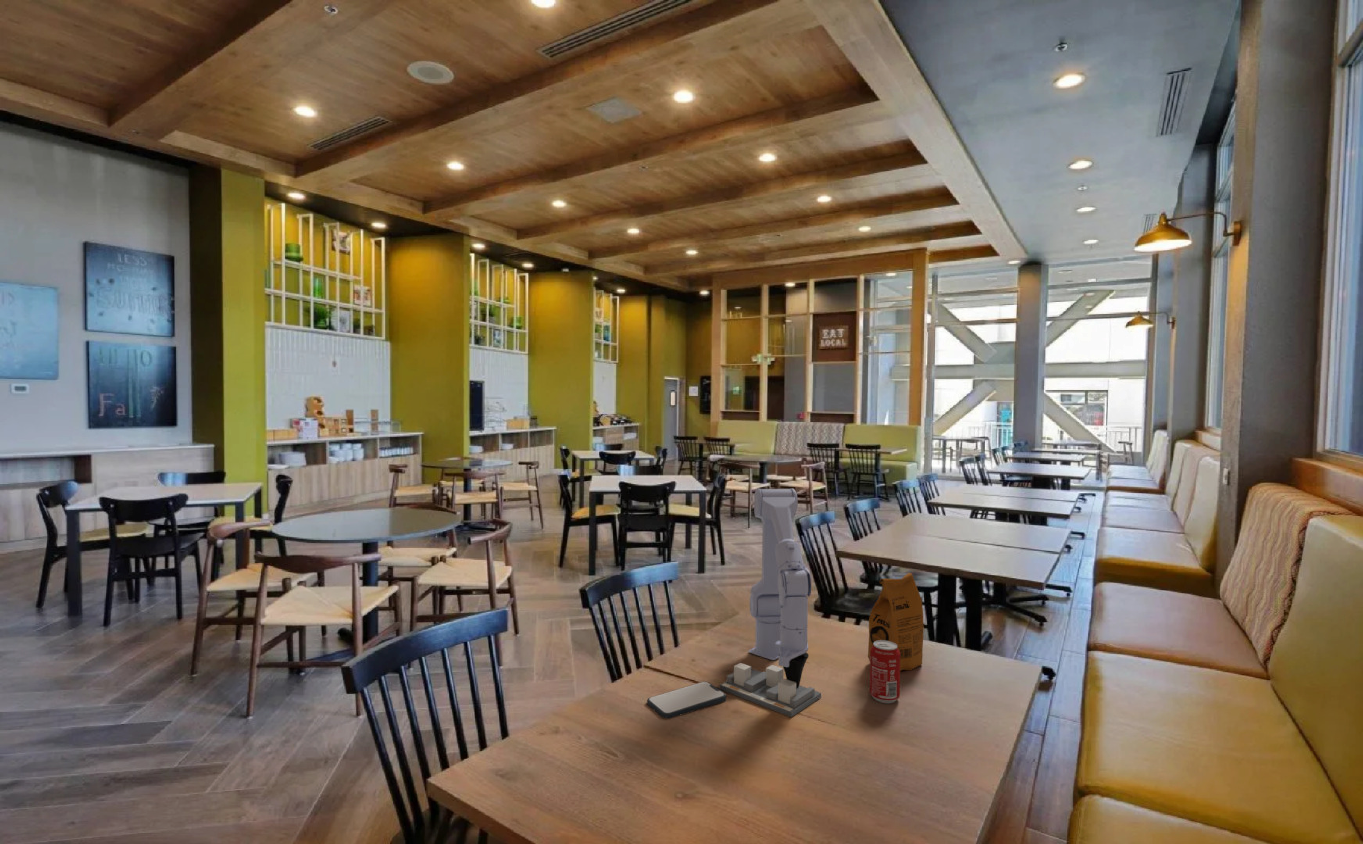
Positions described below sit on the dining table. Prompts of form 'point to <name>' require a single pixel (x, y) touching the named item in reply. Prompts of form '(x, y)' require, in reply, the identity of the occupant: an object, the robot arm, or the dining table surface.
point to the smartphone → (686, 699)
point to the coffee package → (899, 620)
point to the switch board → (763, 694)
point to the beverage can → (885, 671)
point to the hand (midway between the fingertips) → (793, 687)
